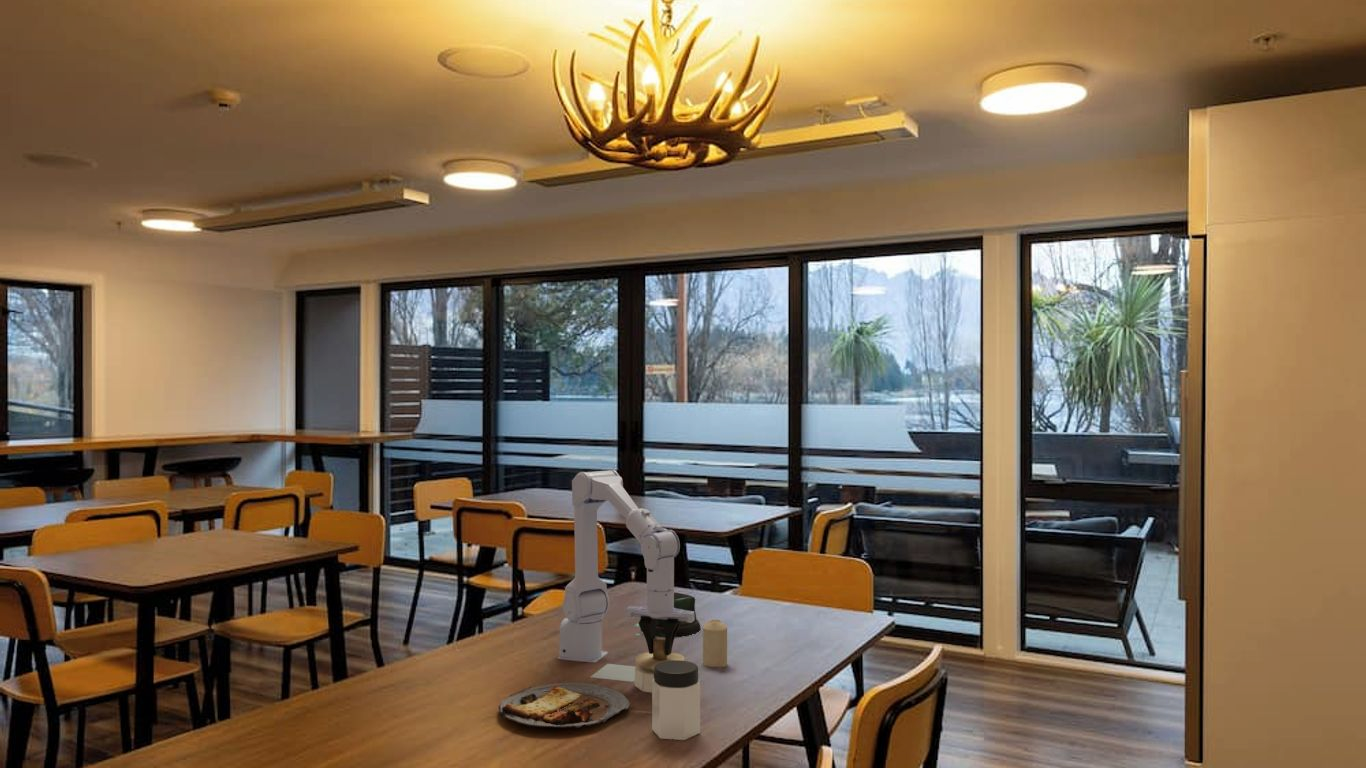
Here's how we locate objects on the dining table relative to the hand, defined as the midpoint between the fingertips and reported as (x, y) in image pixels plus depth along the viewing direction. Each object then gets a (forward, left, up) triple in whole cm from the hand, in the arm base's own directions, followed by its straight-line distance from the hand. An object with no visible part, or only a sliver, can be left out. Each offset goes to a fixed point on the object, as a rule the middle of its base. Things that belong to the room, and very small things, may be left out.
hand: (660, 653), depth 195 cm
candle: (+7, +18, -7) cm, 21 cm away
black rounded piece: (-12, +44, -8) cm, 46 cm away
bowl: (0, 0, -7) cm, 7 cm away
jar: (+11, -23, -7) cm, 26 cm away
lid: (0, 0, -2) cm, 2 cm away
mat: (-11, +5, -7) cm, 14 cm away
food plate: (-13, -20, -8) cm, 25 cm away
